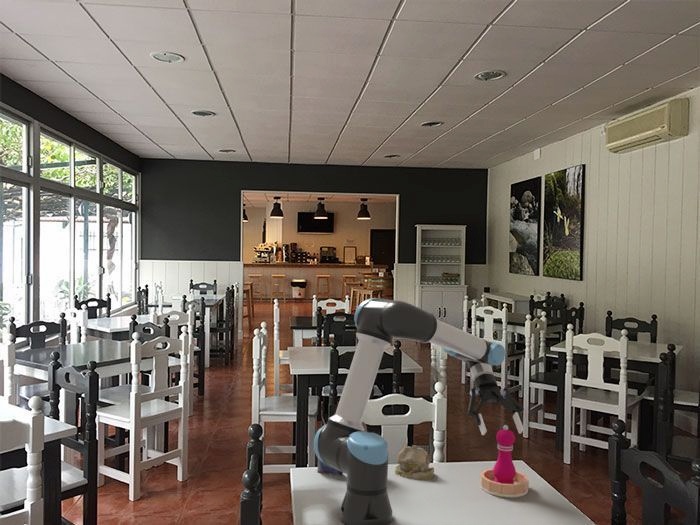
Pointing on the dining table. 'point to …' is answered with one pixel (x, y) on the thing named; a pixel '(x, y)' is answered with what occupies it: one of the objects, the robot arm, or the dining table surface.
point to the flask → (327, 469)
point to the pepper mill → (504, 457)
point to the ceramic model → (414, 463)
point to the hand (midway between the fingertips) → (503, 432)
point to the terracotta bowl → (504, 485)
